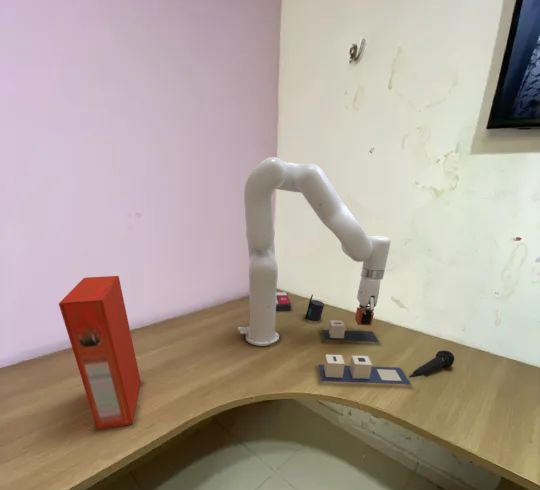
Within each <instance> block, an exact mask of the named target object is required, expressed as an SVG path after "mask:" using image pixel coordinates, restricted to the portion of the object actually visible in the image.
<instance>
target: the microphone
mask: <svg viewBox="0 0 540 490" xmlns="http://www.w3.org/2000/svg"><path fill="white" fill-rule="evenodd" d="M454 363H455V355H454V354H453V353H452V352H451V351H449V350H445V349H443V350H439V351H437V352H436V354H435V357H434V358H432V359H430V360H429V361H427V362H425V363H424V364H423V365H421V366H419V367H418V368H417V369H415V370H414V371H413V372H412V373H411V374H410V375H409V376H408V378H415V377H421V376H425V375H427V374H429V373H433V372H434V371H436V370H438V369H440V368H442V367H443V368H451V367H452V366H453V364H454Z"/></svg>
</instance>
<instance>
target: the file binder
mask: <svg viewBox="0 0 540 490" xmlns="http://www.w3.org/2000/svg"><path fill="white" fill-rule="evenodd" d="M122 290H123V289H122V285H121V280H120V277H119V275H109V276H106V275H105V276H90V277H88V276H87V277H83V278H82V279H81V280H80V281H79V282H78V283H77V284H76V285H75V286H74V287H73V288H72V289H71V290H70V291H69V292H68V293H67V294H66V295H65V296H64V298H62V300H60V301H59V302H58V307H59V310H60V312H61V316H62V320H63V322H64V326H65V329H66V333H67V335H68V339H69V342H70V345H71V348H72V352H73V355H74V358H75V361H76V365H77V368H78V371H79V374H80V378H81V381H82V384H83V387H84V391H85V394H86V397H87V400H88V403H89V407H90V410H91V413H92V416H93V420H94V423H95V426H96V429H97V430H99V431H100V430H105V429H111V428H117V427H123V426H131V425H132V424H133V423H134V419H135V413H136V407H137V404H138V399H139V393H140V388H141V383H142V381H141V377H140V371H139V367H138V362H137V357H136V352H135V348H134V347H135V346H134V343H133V339H132V334H131V329H130V328H131V327H130V324H129V320H128V319H129V318H128V314H127V310H126V304H125V300H124V299H125V298H124V295H123V291H122Z"/></svg>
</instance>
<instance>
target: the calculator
mask: <svg viewBox="0 0 540 490" xmlns="http://www.w3.org/2000/svg"><path fill="white" fill-rule="evenodd" d="M291 309H292V304H291V301H290V298H289V296H288V293H287V292H285V291H283V292H282V291H276V312H290V311H291Z"/></svg>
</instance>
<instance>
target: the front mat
mask: <svg viewBox="0 0 540 490" xmlns="http://www.w3.org/2000/svg"><path fill="white" fill-rule="evenodd" d="M318 369H319V370H318V371H319V376H320V380H321V382H332V383H333V382H335V383H358V384H360V383H361V384H363V383H364V384H387V385H411V382H410V381H409V379H408V378H407V376H406V374H405V373H404V371H403V370H402V368H401V367H394V366H393V367H392V366H372V368H371V373H370V378H369V379H361V378H353V377H352V375H351V372H350V365H344V371H343V378H335V377H326V375H325V371H324V364H318Z"/></svg>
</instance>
